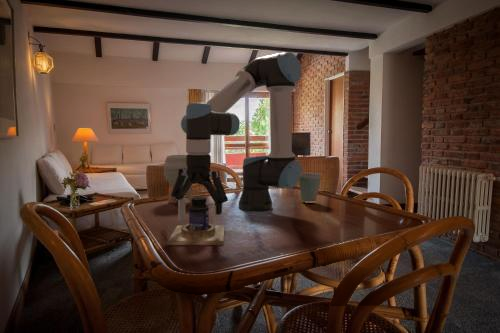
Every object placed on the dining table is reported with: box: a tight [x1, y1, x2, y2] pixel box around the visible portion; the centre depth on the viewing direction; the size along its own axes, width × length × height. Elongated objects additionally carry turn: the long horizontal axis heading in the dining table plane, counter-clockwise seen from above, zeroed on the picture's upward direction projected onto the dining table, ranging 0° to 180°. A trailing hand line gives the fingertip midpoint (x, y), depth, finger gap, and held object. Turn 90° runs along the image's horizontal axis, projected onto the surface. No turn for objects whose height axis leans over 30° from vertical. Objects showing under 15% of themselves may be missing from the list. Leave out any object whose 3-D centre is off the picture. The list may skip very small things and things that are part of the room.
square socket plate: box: [167, 222, 226, 246], centre depth 99 cm, size 16×16×3 cm
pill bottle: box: [188, 196, 210, 231], centre depth 98 cm, size 6×6×11 cm
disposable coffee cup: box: [299, 172, 322, 202], centre depth 152 cm, size 11×11×15 cm
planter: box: [163, 154, 193, 204], centre depth 150 cm, size 16×16×22 cm
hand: (198, 221), depth 99 cm, fingers open, 12 cm apart
